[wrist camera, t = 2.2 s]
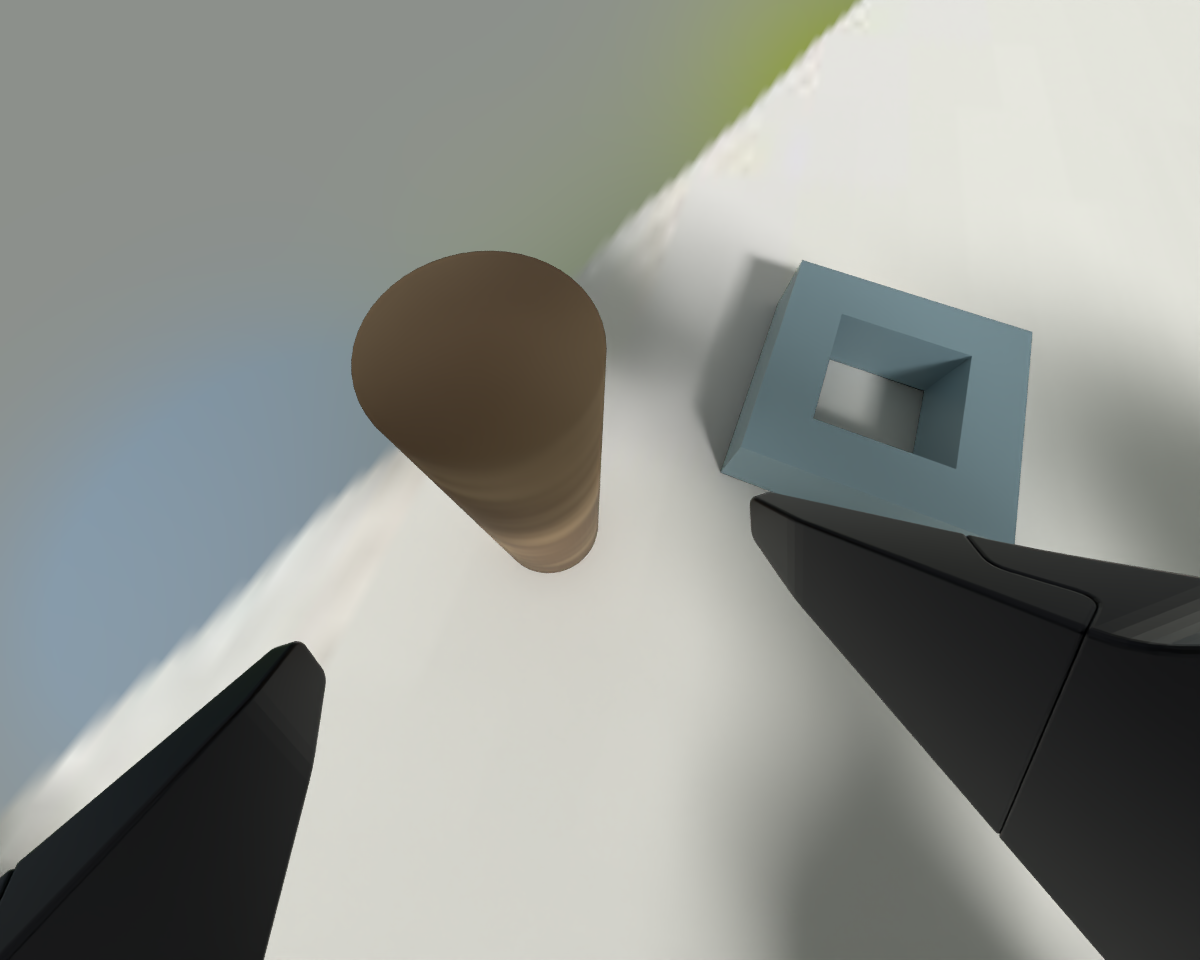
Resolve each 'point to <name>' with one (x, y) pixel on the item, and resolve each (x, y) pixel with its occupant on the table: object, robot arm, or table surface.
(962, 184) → the table surface
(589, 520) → the walnut peg
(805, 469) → the socket block
